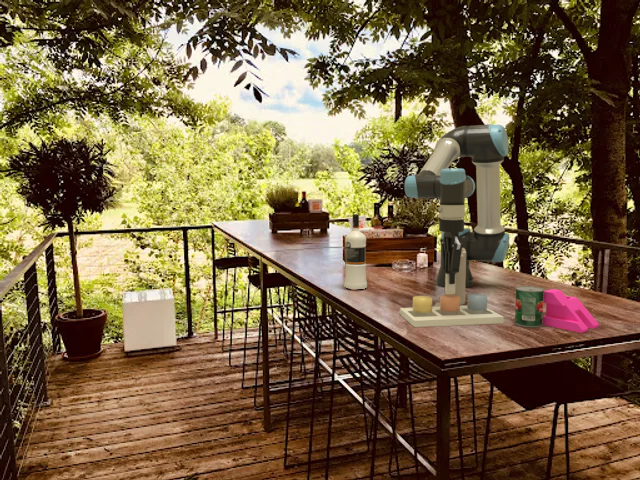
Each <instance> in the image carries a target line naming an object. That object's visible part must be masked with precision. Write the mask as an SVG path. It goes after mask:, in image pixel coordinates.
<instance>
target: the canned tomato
mask: <svg viewBox="0 0 640 480" xmlns="http://www.w3.org/2000/svg"><path fill="white" fill-rule="evenodd" d="M544 289H545V288H542V287H540V286H533V285H532V286H531V285H522V286H521V285H519V286H516V287H515V305H514V306H515V309H514V313H515V314H514V324H515V325H517V326H519V327H523V328H542V327H543V316H544V314H543V313H544V311H543V310H544V291H545V290H544Z"/></svg>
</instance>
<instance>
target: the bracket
mask: <svg viewBox="0 0 640 480" xmlns="http://www.w3.org/2000/svg"><path fill="white" fill-rule="evenodd" d="M543 304H546V307H545V315H543V320H542V326H548V327H552V328H558V329H562V330H565V331H566V330H567V331H571V332H576V333H580V334H584V333H586V332H588V331H589V329H597V328H599V327H600V324H599V323H598V321H597V320H596V319H595V318H594V316H593V315H592V314H591V313H590V311H589V310H588V309H587V308H586V306H584V304H583V303H582V302H581V300H579V298H578V297H575V296H568V295H565V294H564V292H563V291H562V290H560V289H555V288H552V289H548V290H544V296H543Z"/></svg>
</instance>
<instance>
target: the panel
mask: <svg viewBox="0 0 640 480" xmlns="http://www.w3.org/2000/svg"><path fill="white" fill-rule="evenodd" d="M399 315H400V316H401V317H402V318H403V319H404V320H406V321H407V322H408V324H410V325H412V327H414V328H429V327H449V326H450V327H451V326H454V327H455V326H470V325H471V326H472V325H473V326H474V325H475V326H476V325H494V324H497V325H498V324H504V320H505V319H504V318H505V317H504V316H503V315H501V314H499V313H498V312H495V311H493V310H492V309H490V308H488V307H487V309H486V310H471V309H468V308H467V304H466V305H465V304H464V305H460V310H459V311H454V312H450V311H443V310H441V309H440V307H435V306H432V312H428V313H420V312H415V311H413V307H400V308H399Z"/></svg>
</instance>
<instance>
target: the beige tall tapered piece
mask: <svg viewBox="0 0 640 480" xmlns="http://www.w3.org/2000/svg"><path fill="white" fill-rule="evenodd" d="M465 281H466V251H465V249H464V248H462V250H461V259H460V267H459V272H458V273H456V279H455V294H445V290H444V294H443V295H456V296H459V297H460V306H463V305H465V304H466V287H465ZM432 307H440V301H439V302H435V303H434V305H433V304H432Z"/></svg>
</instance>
